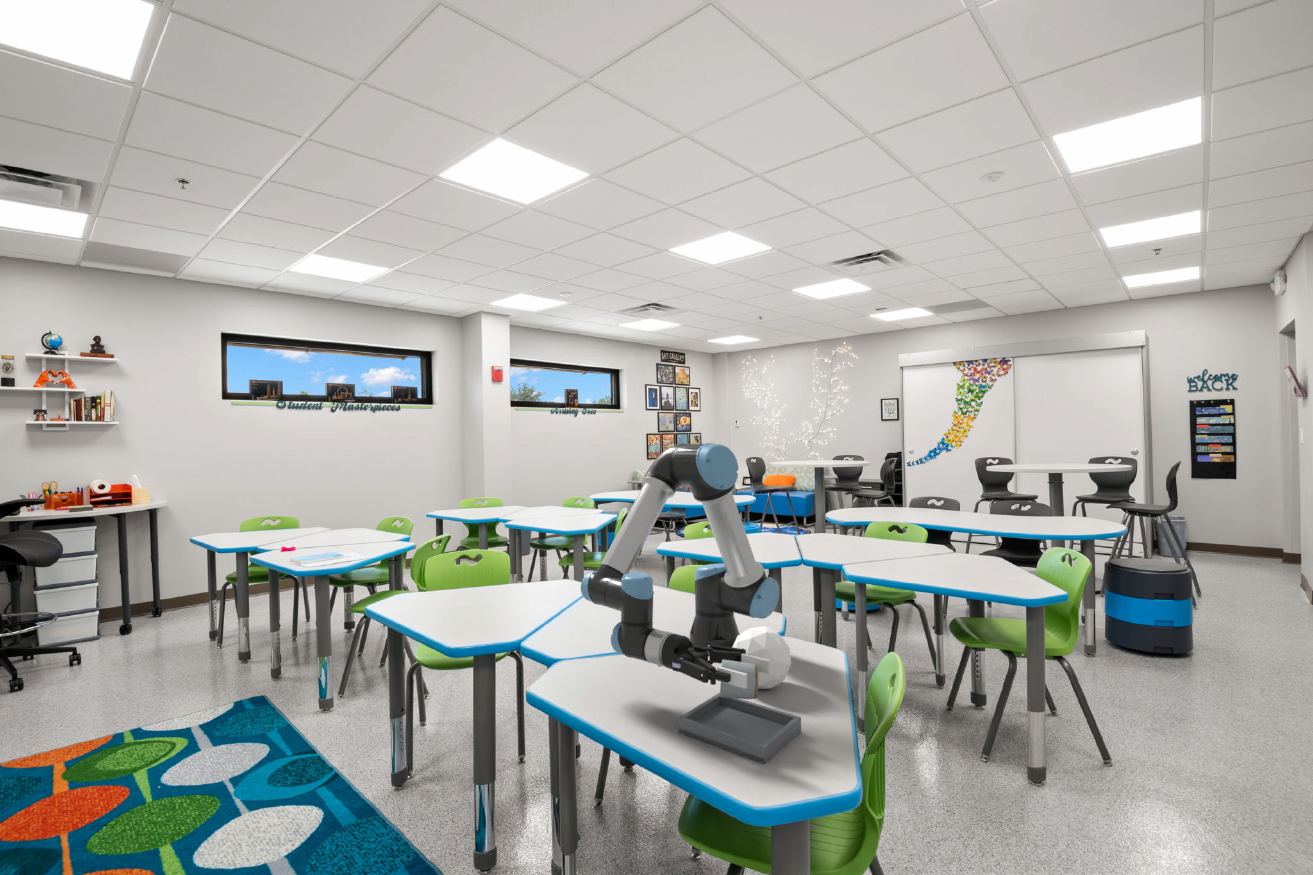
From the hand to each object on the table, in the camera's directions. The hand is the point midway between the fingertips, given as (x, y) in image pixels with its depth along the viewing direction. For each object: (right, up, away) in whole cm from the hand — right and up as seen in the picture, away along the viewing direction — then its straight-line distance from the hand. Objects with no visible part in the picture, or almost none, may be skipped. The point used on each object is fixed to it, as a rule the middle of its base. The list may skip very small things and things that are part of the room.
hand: (758, 673), depth 122 cm
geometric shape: (+5, -14, +27) cm, 30 cm away
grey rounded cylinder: (-4, -6, +4) cm, 8 cm away
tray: (-3, -13, +3) cm, 14 cm away
